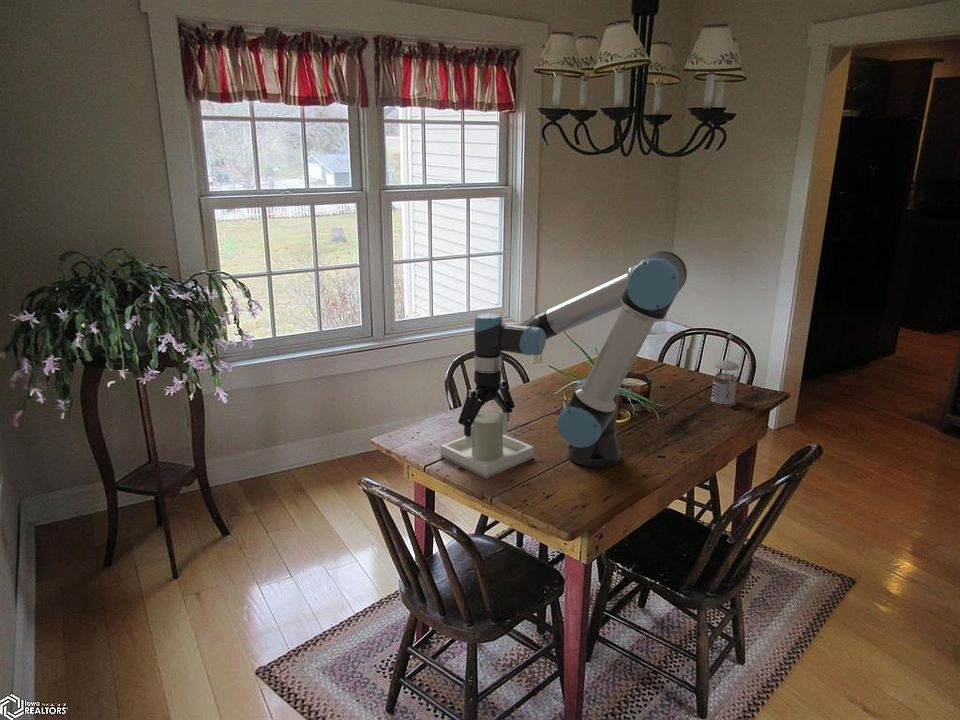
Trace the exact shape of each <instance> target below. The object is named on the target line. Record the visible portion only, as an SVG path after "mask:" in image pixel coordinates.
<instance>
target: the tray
mask: <svg viewBox="0 0 960 720" xmlns="http://www.w3.org/2000/svg"><path fill="white" fill-rule="evenodd" d="M441 456H442V458H443V457H444V458H443V459H445V458H446V459H445V460H447V459H448V460H447V461H449V460H450V461H449V462H451V461H452V462H451V463H453V462H454V464H455V465H457V464H458V466H459V465H460V466H459V467H461V466H462V467H461V468H462V469H463V468H464V469H466V470H468V471H470V472H471V473H473V474H476V475H477V476H480V477H482V478H483V479H486V480H487V479H489V478H491V477H494V476H495V475H497V474H500V473H502V472H504V471H506V470H509V469H512V468H513V467H516V466H519V465H520V464H523V463H525V462H527V461H529V460H532V459H534V446H532V445H530V444H528V443H526V442H523V441H521V440H518V439H516V438H513V437H511V436H509V435H507V434H504V433H503V456H502V457H501V458H499V459H496V460H491V461H484V460H479V459H476V458H474V457H473V456H472V447H470V446H468V445H466V436H465V435H464V436H462V437H459V438H457V439H454V440H452V441H449V442H446V443H443V444H441V445H440V457H441Z"/></svg>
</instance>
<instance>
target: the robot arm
mask: <svg viewBox="0 0 960 720" xmlns="http://www.w3.org/2000/svg"><path fill="white" fill-rule="evenodd" d="M687 276H688V270H687V266H686V264H685V262H684V261H683V259H682V258H681V257H680V256H679V255H678V254H676V253H674V252H671V251H669V250H666V251H665V250H660V251H656V252H653V253H652V254H650V255H648V256H647V257H646V258H644V259H642V260H640V261H639V262H638V263H636V264H635V265H632V266H630V267H629V269H628V271H627V272H626V273H624V274H622V275H620V276H617V277H615V278H613V279H611V280H609V281H607V282H605V283H602V284H601V285H598V286H596V287H594V288H591V289H590V290H587V291H585V292H583V293H581V294H579V295H576V296H575V297H572V298H570V299H568V300H566V301H563V302H561V303H559V304H557V305H555V306H553V307H551V308H549V309H547V310H544V311H541V312H538V313H536V314H534V315H532V316H531V317H530V318H528V319H527V320H525V321H523V322H522V323H520V324H508V323H503V317H502V316H501V315H500V314H497V313H492V312H491V313H490V312H488V313H487V312H485V313H481V314H478V315H476V316H475V319H474V330H473V333H474V336H473V337H474V341H473V342H474V351H473V352H474V354H473V355H474V359H473V360H474V362H473V363H474V364H473V365H474V366H473V367H474V373H473V374H474V377H473V381H474V383H475V386H476V387H475V389H467V391H466V398H465V401H464V404H463V407H462V409H461V413H460V416H459V418H458V424H459V425H461V426H463V428H464V429H463V435H464V436H466V445H468V446H470V447H472V448H473V447H474V425H472V424H473V422H474V420H475V418H476V416H477V414H478V412H481V411H480V410H481V409H482V407H483V406H484V405H485V404H486V403H488V402H490V401H494V402H495V403H496V404H497V405H498V406H499V408H500V409H501V410H499V413H500V414H501V415H503V417H504V418H503V434H504V435H508V433H509V421H510V414H511V413H512V412H513V409H515V407H516V406H515V403H514V399H513V397H512V396H511V393H510V390H509V387H508V385H509V384H508V380H507V381H506V380H504V379H502V370H501V368H502V352H507V353H515V354H521V355H525V356H540V355H541V354H542V353H543V352H544V349H545V346H546V340H549V339H550V338H552V337H555V336H557V335H559V334H561V333H564V332H566V331H569V330H571V329H573V328H575V327H578V326H580V325H582V324H584V323H587V322H589V321H591V320H593V319H596V318H598V317H601V316H604V315H605V314H608V313H610V312H612V311H615V310H618V309H619V308H621V310H620V311H619V314H618V315H617V318H616V320H615V322H614V323H613V325H612V328H611V330H610V332H609V333H608V336H607V337H606V339H605V341H604V344H603V345H602V347H601V349H600V351H599V353H598V356H597V357H596V359H595V361H594V363H593V365H592V368H590V372H589V373H588V375H587V378H585V379H580V380H579V381H577V384H576V387H575V388H574V390H573V392H572V394H571V396H570V398H569V400H568V402H567V404H566V406H565V408H564V409H563V410H561V411H560V412H559V415H558V418H557V421H556V422H557V423H556V426H557V431H558V432H559V435H560V437H561V439H563V441H565V442H566V443H567V444H568V446H567V457H568V459H569V460H571V462H573V463H575V464H577V465H580V466H583V467H588V468H600V469H601V468H609V467H611V466H615V465H616V464H618V463H619V462H620V461H621V449H620V445H619V442H618V438H617V417H618V406H619V405H618V404H619V403H618V402H619V396H620V394H619V390H620V387H621V386H622V385H623V383H624V381H625V380H626V379H625V378H626V377H627V375H628V373H629V371H630V369H631V367H632V366H633V363H634V362H635V360H636V358H637V356H638V354H639V352H640V351H641V349H642V347H643V345H644V343H645V342H646V340H647V338H648V335H649V334H650V331H651V330H652V328H653V326H654V324H655V323H656V322H659V321H663V320H664V319H665V317H666V315H667V313H668V312H669V310H670V308H671V306H672V304H673V302H674V301H675V299H676V297H677V295H678V293H679V292H680V291H681V290H682V289H683V287H684V285H685V283H686V281H687V278H688V277H687ZM499 391H500V393H501V394H500V393H499Z"/></svg>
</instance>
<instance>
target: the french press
mask: <svg viewBox="0 0 960 720" xmlns="http://www.w3.org/2000/svg"><path fill="white" fill-rule="evenodd" d="M726 337H727V338H728V339H729V342H728V350H727V351H728V353H727V356H730V355H729V353H730V346H731V339H733V338H734V335H733V334H728V335H727V336H726ZM714 367H715V368H716V369H719V370H722V371H723V370H725V372H724V373H716V374H715V375H714V377H715V378H713V381H712V389H711V391H712V392H711V395H710V396H711V397H710V398H711V401H712V402H716V403H719V404H732V403H735V402H736V400H735V399H736V392H737V391H736V388H737V383H738V381H737V380H736V379H737V377H736V376H735V373H732V374H731V373H727V371H737V370H738V369H739V368H740V366H739V364H737V363H736V362H734V361H731V360H729V357H727V358H726V360H720V361H717V362H716V363H714Z"/></svg>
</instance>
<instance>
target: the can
mask: <svg viewBox="0 0 960 720" xmlns="http://www.w3.org/2000/svg"><path fill="white" fill-rule="evenodd" d="M503 418H504V417H503V415H501V414H500V412H496V411H493V410H492V411H491V410H490V411H488V410H486V411H479V412H478V414H477V416H476V418H475V420H474V422H473V424H472V425H474V447H473V448H472V456H473V457H474V458H476V459H479V460H484V461H491V460H496V459H499V458H501V457H502V456H503V434H504V433H503Z"/></svg>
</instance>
